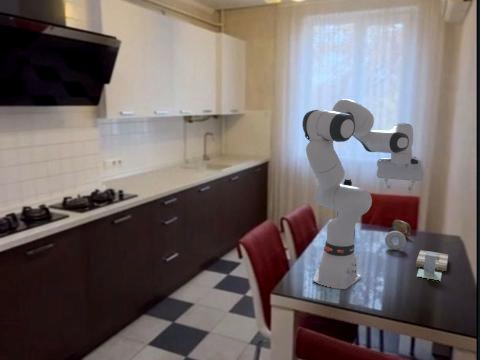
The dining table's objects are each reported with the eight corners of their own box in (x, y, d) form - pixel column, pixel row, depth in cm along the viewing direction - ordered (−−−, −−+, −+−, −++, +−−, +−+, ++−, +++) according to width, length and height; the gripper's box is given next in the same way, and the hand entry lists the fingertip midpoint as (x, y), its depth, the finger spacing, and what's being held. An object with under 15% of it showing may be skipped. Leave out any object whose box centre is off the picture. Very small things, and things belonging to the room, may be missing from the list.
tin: (391, 231, 230) (391, 217, 228) (395, 231, 230) (396, 217, 229) (406, 239, 215) (407, 224, 214) (411, 239, 215) (412, 224, 214)
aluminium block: (434, 276, 163) (435, 256, 162) (423, 274, 165) (425, 254, 164) (434, 273, 167) (436, 253, 165) (424, 271, 169) (426, 251, 167)
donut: (405, 250, 198) (406, 231, 196) (405, 252, 195) (407, 233, 193) (384, 247, 201) (385, 229, 200) (384, 249, 198) (385, 230, 197)
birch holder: (446, 272, 170) (446, 265, 170) (416, 266, 176) (416, 260, 175) (447, 260, 184) (448, 254, 183) (419, 255, 190) (420, 250, 189)
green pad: (440, 281, 160) (440, 280, 160) (416, 277, 165) (416, 275, 164) (441, 274, 168) (441, 272, 168) (418, 270, 172) (419, 268, 172)
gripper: (376, 158, 179) (374, 188, 181) (424, 161, 169) (422, 192, 171) (378, 157, 184) (377, 186, 187) (426, 159, 174) (423, 190, 176)
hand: (399, 189), depth 179 cm, fingers open, 8 cm apart
